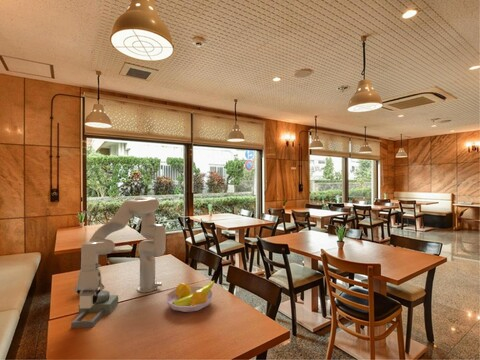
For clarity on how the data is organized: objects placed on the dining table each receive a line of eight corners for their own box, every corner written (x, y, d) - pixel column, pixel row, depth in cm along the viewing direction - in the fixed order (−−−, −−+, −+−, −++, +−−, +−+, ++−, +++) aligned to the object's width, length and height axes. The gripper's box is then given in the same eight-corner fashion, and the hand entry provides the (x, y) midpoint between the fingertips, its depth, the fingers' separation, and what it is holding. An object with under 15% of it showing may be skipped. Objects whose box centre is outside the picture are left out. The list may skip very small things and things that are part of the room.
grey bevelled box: (97, 300, 137) (97, 287, 137) (90, 308, 129) (90, 293, 129) (87, 300, 137) (87, 287, 137) (79, 308, 129) (79, 294, 129)
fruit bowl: (165, 321, 133) (166, 299, 133) (166, 297, 159) (166, 278, 159) (220, 314, 140) (220, 293, 140) (212, 292, 166) (212, 274, 166)
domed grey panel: (118, 303, 150) (118, 289, 150) (99, 326, 127) (99, 310, 127) (89, 304, 149) (89, 290, 149) (64, 328, 126) (64, 311, 126)
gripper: (110, 264, 138) (109, 299, 138) (76, 264, 136) (75, 299, 136) (103, 269, 130) (103, 306, 130) (67, 269, 129) (67, 306, 129)
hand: (89, 302), depth 133 cm, fingers closed on grey bevelled box, 5 cm apart
